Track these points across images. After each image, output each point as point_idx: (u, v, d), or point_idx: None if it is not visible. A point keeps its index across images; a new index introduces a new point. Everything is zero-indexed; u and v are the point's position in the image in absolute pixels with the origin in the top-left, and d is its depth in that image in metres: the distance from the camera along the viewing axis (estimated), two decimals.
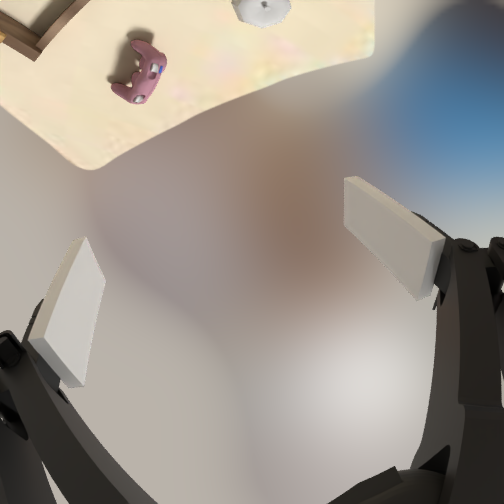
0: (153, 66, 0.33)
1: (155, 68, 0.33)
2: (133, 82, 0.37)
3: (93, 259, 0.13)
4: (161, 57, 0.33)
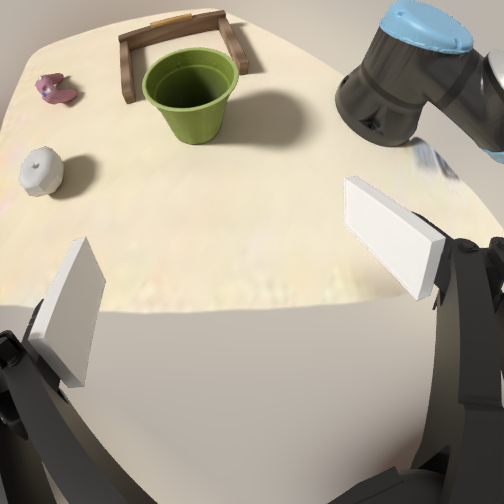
0: (49, 89, 0.37)
1: (47, 91, 0.37)
2: None
3: (93, 259, 0.13)
4: (50, 98, 0.38)
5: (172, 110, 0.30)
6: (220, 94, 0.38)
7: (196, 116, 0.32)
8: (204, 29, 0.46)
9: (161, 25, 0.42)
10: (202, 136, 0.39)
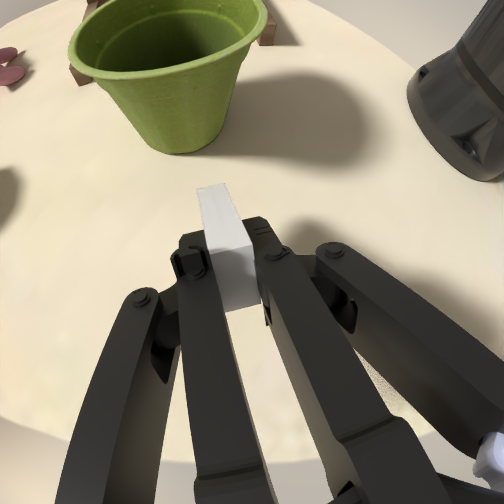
0: None
1: None
2: (0, 65, 0.23)
3: None
4: None
5: (110, 77, 0.11)
6: None
7: (168, 93, 0.13)
8: None
9: None
10: (188, 140, 0.20)
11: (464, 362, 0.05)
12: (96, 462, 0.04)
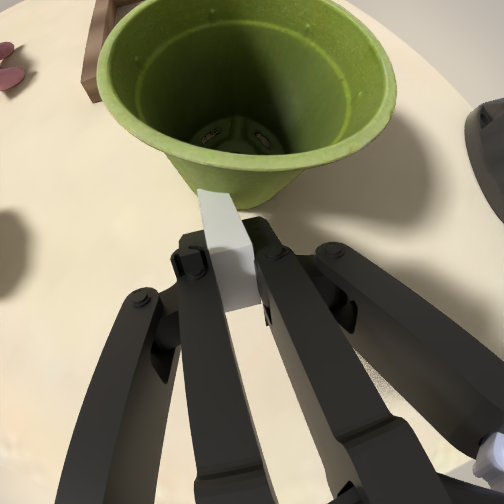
0: None
1: None
2: None
3: None
4: None
5: (189, 157, 0.08)
6: (304, 102, 0.16)
7: (266, 176, 0.10)
8: None
9: None
10: (254, 202, 0.17)
11: (464, 362, 0.05)
12: (96, 462, 0.04)
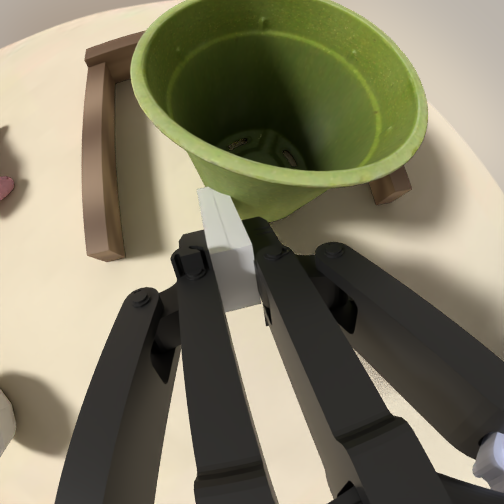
0: None
1: None
2: None
3: None
4: None
5: (195, 151, 0.08)
6: (336, 128, 0.16)
7: (273, 189, 0.10)
8: None
9: None
10: (264, 217, 0.17)
11: (464, 362, 0.05)
12: (96, 462, 0.04)
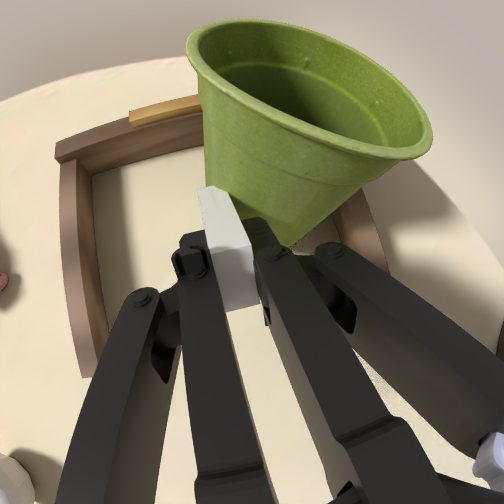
0: None
1: None
2: None
3: None
4: None
5: (216, 83, 0.08)
6: None
7: (271, 159, 0.10)
8: None
9: (160, 120, 0.19)
10: None
11: (464, 362, 0.05)
12: (97, 462, 0.04)
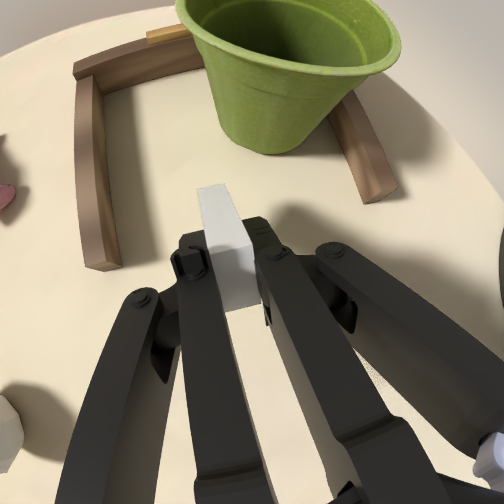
0: None
1: None
2: None
3: None
4: None
5: (205, 38, 0.10)
6: None
7: (260, 85, 0.12)
8: None
9: (174, 38, 0.18)
10: (260, 140, 0.19)
11: (464, 362, 0.05)
12: (96, 462, 0.04)
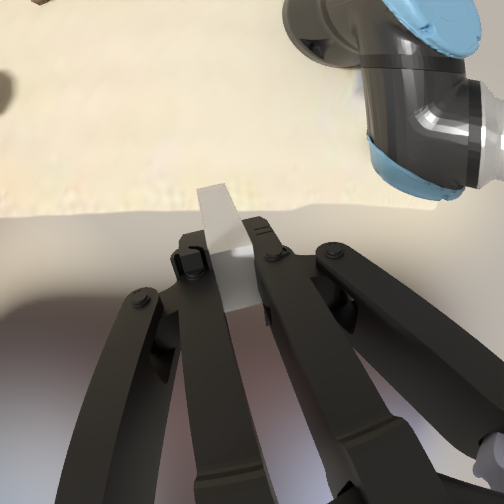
0: None
1: None
2: None
3: None
4: None
5: None
6: None
7: None
8: None
9: None
10: None
11: (464, 362, 0.05)
12: (96, 462, 0.04)
